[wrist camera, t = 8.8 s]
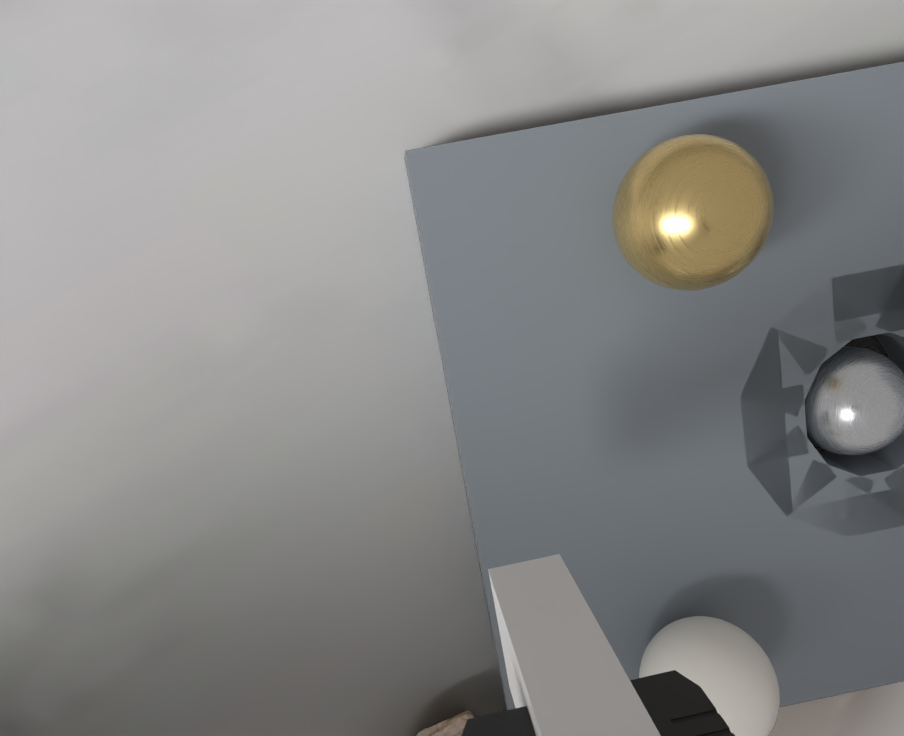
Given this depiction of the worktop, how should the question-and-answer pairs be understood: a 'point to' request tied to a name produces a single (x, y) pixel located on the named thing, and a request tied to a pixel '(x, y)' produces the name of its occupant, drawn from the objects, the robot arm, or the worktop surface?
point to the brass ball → (693, 212)
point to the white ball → (719, 670)
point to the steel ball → (855, 402)
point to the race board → (681, 377)
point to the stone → (448, 726)
